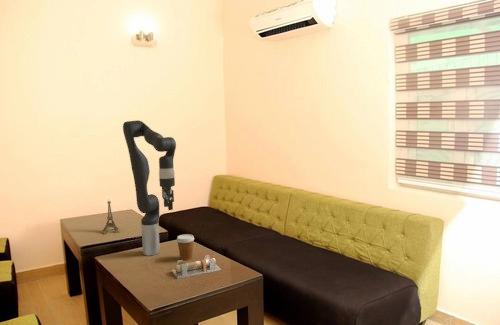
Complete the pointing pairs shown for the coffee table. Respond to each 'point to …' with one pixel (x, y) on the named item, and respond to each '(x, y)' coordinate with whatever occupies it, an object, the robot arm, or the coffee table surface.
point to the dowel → (193, 265)
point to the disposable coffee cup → (185, 246)
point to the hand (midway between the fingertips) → (168, 208)
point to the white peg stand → (185, 273)
